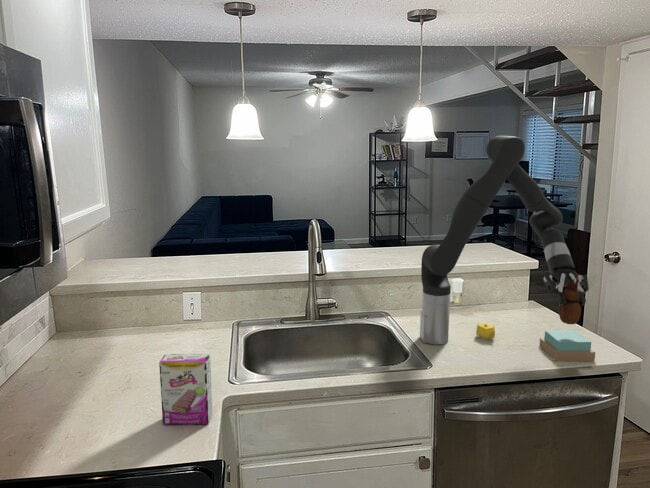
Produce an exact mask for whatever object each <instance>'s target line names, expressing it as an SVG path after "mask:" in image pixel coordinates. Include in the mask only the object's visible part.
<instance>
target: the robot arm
mask: <svg viewBox="0 0 650 488" xmlns="http://www.w3.org/2000/svg"><path fill="white" fill-rule="evenodd" d="M525 149H526V147H525V142H524V141H523V139H522V138H521V137H518V136H512V135H496V136H493V137H492V138H490V139H489V141H488V142H487V144H486V154H487V157H488V159H489V160H490V162H491V164H490V166H489V168H488V170H486V171H485V173H484V174H483V175H482V176H480V177H479V178H478V179H477V180H475V181H474V182H473V183H472V184H471V185H469V187H467V189H465V191H464V192H463V194H462V196H461V197H460V199H459V201H458V202H457V204H456V206H455V208H454V210H453V214H452V217H451V221H450V224H449V229H448V230H447V233H446V235H445V237H444V238H443V239H442V241H441V243H440V244H431V245H429V246H428V247H426V248H425V249H424V251H423V253H422V255H421V263H420V264H421V273H420V274H421V279H420V280H421V284H422V308H421V311H420V319H419V320H420V321H419V338H420V340H421V341H422V343H423V344H430V345H436V346H437V345H438V346H439V345H444V344H447V343H448V342H449V335H450V334H449V329H450V312H451V311H450V309H451V290H452V287H451V284H450V281H449V278H448V274H450V273H451V272H452V271H453V270H454V268H455V266H456V265H457V263H458V260H459V259H460V256H461V254H462V252H463V251H464V248H465V246H466V244H467V242H468V241H469V239H470V238H471V236H472V234H473V233H474V231H475V229H476V228H477V227H478V225H479V223H480V222H481V221H482V218H483V217H484V215H485V214H486V213H487V210H488V209H489V207H490V205H491V203H492V202H493V201H494V199H495V197H496V196H497V195H498V193H499V191H500V189H501V188H502V186H503V185H504V183H505V181H506V180H507V181H508V182H509V183H510V185H511V187H513V189H514V190H515V192H516V193H517V195H518V197H519V199H520V200H521V202H522V204H523V205H524V207H525V208H526V210H527V211H529V212H531V213H533V214H531V215H530V217H529V224H530V226H531V228H532V230H533V231H534V232H535V233H536V234H537V236H538V238H539V240H540V242H541V246H542V249H543V252H544V256H545V260H546V263H547V267H548V270H549V273H550V275H549V274H545V275H544V277H543V278H542V281H543V283H544V285H545V287H546V289H547V290H548V292H549V294H550V295H555V296H556V297H557V301H558V303H559V304H561V305H562V306H565V304H566V299H565V296H564V293H563V291H564V290H563V289H564V288H565V287H567V284H568V283H570V282H571V283H572V281H573V279H574V285H575V283H576V280H577V279H578V291H579V299H578V300H577V301H578V302H579V304H580V306H581V307H582V306H584V305H585V304H586V302H587V299H586V297H585V294H586V293H587V292H588V291H589V281H588V275H587V274H586V273H585V274H583V275H581V274H578V273H577V272H576V268H575V264H574V261H573V258H572V256H571V253H570V250H569V248H568V246H567V243H566V241H565V238H564V235H563V233H562V232H561V231H560V230H558V229H553V228H556V227H558V226H560V225H562V224H563V220H564V217H563V213H562V212H561V211H560V210H559V208H557V207H556V206H555V205H553V203H551V201H549V200H548V199H547V198H546V196H545V194H544V192H543V191H542V189H541V187H540V186H539V184H538V183H537V182H536V181H535V180H534V179H533V178H532V177H531V175H530V174H529V173H527V172H526V171H525V170H524V169H523V168H522V166H521V165H520V164H519V163H520V162H521V160H522V158H523V157H524V154H525ZM554 283H555V284H556V285H555V284H554Z"/></svg>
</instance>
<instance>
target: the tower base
mask: <svg viewBox="0 0 650 488" xmlns="http://www.w3.org/2000/svg"><path fill="white" fill-rule="evenodd" d="M538 346H539V347H540V349H542V350H543V351H544V352H545V353H546V354H547V355H548V356H549V357H551V358H552V360H554V361H555V362H595V358H596V352H595V350H593V349H592V341H591V340H590V339H588V338H586V337H585V336H584V335H582V334H581V333H579V332H578V331H576V330H544V337H540V338H539V345H538Z"/></svg>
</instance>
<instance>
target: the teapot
mask: <svg viewBox="0 0 650 488" xmlns="http://www.w3.org/2000/svg"><path fill="white" fill-rule="evenodd" d="M475 329H476V331H475V334H476V336H478V339H479V338H480V339H483V341H487V340H493V339H495V338H496V337H495V336H496V329H495V325H491V324H489V323H477V325H476V328H475Z"/></svg>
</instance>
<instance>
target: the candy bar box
mask: <svg viewBox="0 0 650 488" xmlns="http://www.w3.org/2000/svg"><path fill="white" fill-rule="evenodd" d="M158 364H159V377H160V378H159V380H160V381H159V382H160V393H161V394H160V395H161V397H160V398H161V399H160V401H161V412H162V413H161V414H162V415H161V416H162V425H163V426H173V425H174V426H176V425H177V426H178V425H179V426H181V425H182V426H183V425H184V426H185V425H186V426H188V425H209V424H210V421H211V419H212V416H213V395H212V394H213V393H212V368H211V367H212V366H211V354H210V353H178V354H177V353H164V355H163V357H162V358H161V359H160V360H159V363H158Z"/></svg>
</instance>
